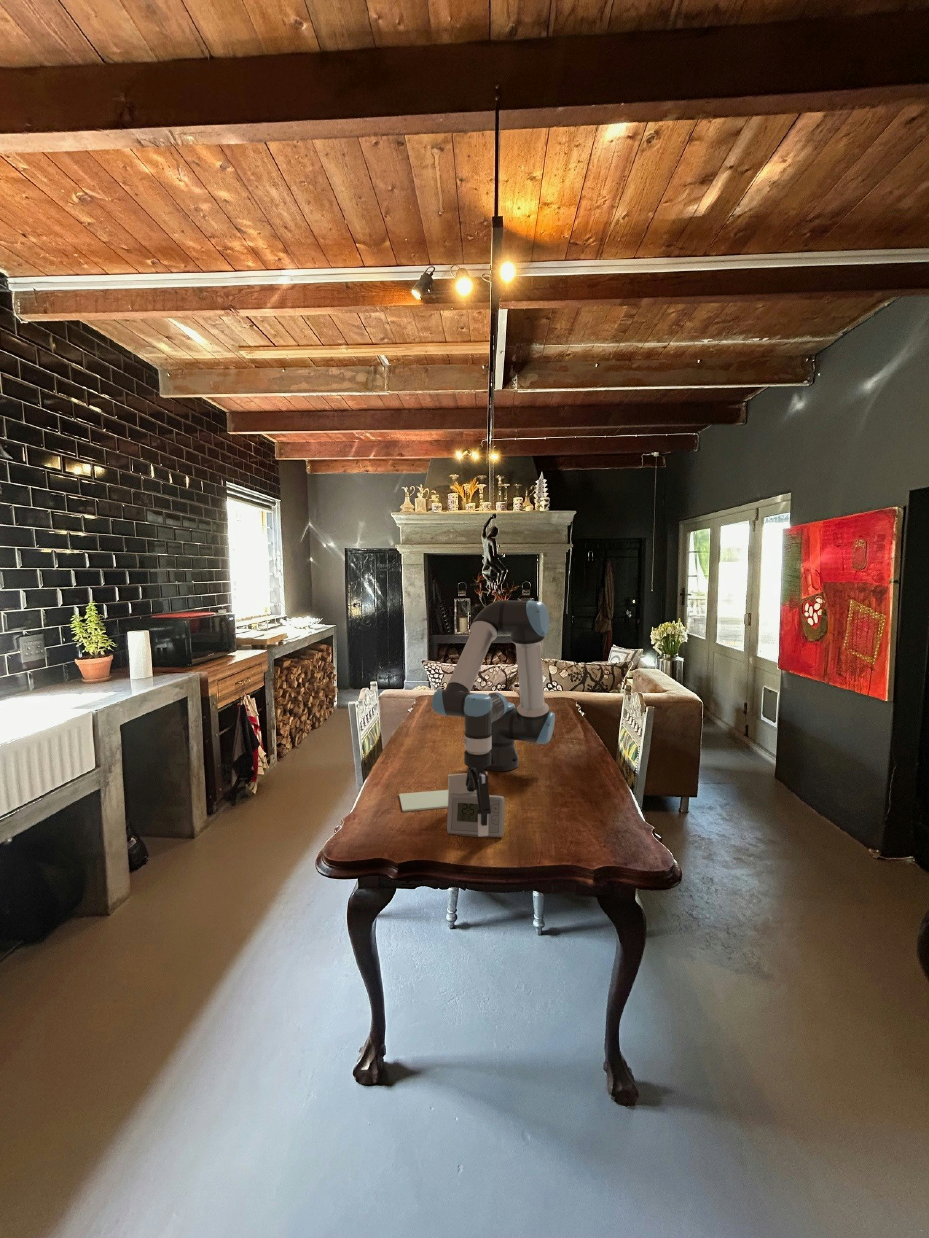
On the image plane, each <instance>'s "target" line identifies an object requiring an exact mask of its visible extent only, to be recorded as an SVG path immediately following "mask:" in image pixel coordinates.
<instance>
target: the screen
mask: <svg viewBox="0 0 929 1238" xmlns="http://www.w3.org/2000/svg"><path fill="white" fill-rule="evenodd" d="M485 772H486V775H488V771H485ZM466 777H467V772H465V773H464V772H463V773H451V774H447V790H448V798H449V794H451V793H461V794H463V793H467V792H469V791H467V786H466ZM474 791H476V790H474Z"/></svg>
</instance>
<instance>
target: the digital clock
mask: <svg viewBox="0 0 929 1238" xmlns="http://www.w3.org/2000/svg"><path fill="white" fill-rule="evenodd" d="M489 799H490V809H491V814H488V836H480V837H478V814H477V811H479V807H478V800H477V794H472V793H463V794H461V793H451V794H449V798H448V808H447V816H446V817H447V818H446V833H448V834H449V835H457V836H458V835H459V836H461V837H462V836H463V837H473V838H474V837H476V838H503V837H504V834H505V806H506V805H505V803H506V802H505V800H506V799H505V796H503V795H493V794H489Z"/></svg>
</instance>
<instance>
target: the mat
mask: <svg viewBox="0 0 929 1238" xmlns="http://www.w3.org/2000/svg"><path fill="white" fill-rule="evenodd" d="M398 796H399V802H400V806H401V810H402V811H401V812H416V811H427V810H438V809H448V789H443V790H442V789H441V790H430V791H429V790H428V791H419V792H418V791H417V792H416V791H415V792H405V793H399V794H398Z"/></svg>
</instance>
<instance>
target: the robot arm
mask: <svg viewBox="0 0 929 1238" xmlns="http://www.w3.org/2000/svg"><path fill="white" fill-rule="evenodd" d="M469 629H470V634H469V636H468V639H467V640H466V643H465V645H464V647H463V650H462V652H461V654H460V656H459V659H458V661H457V663H456V665H455V667H454V670H453V671H452V674H451V676H450V678H449V680H448V683H447V685H446V687H445V689H443V688H442V689H437V690H436V691H434V693H433V695H432V698H431V699H432V700H431V707H432V709H433V712H434V713H435V714H437V715H442V716H447V717H448V716H449V717H456V718H457V717H458V718H464V735H463V736H464V739H462V743H463V744H464V753H463V754H464V755H463V756H464V757H463V763H464V765H465V766H467V771H466V773H467V777H466V786H467V791H469V792H467V793H472V794H477V800H478V807H479V811H477V814H478V837H477V838H481V837H480V836H488V814H491V809H490V799H489V795H490V790H489V775H488V774H487V775H486V772H487V771H485V770H488V771H492V772H493V771H494V772H507V771H512V770H514V769H517V768H518V767H519V763H520V761H519V756H518V753H517V750H516V749H517V748H516V746H515V741H517V742H518V741H519V742H526V743H533V744H536V745H537V744H543V745H545V744H548V743H549V742H550V740H551V739H552V736H553V733H554V729H555V723H556V714H555V713H554V712H553V711H550V707H549V705H548V704H547V703H546V702H545V694H544V693H545V691H544V679H543V678H544V677H543V676H544V675H543V663H542V647H541V646H542V645H541V643H542V642H543V641H544V640H545V636H547V635H548V634H549V632H550V615H549V611H548V608H547V605H546V604H544V603H543V602H542V601H539V600H538V601H537V600H536V601H535V600H511V599H510V600H507V599H501V600H500V599H499V600H496V601H492V602H491V603H489V604H488V605H486V606H485V607H484V608H483V609H481V610H480V612H479V613H478V614H477V615H476V616H475V618H474V619H472V623H471V625H470V628H469ZM500 634H503V635H504V634H506V635H510V641H511V642H512V643H513V644H514V645H515V651H516V664H517V674H518V687H519V688H518V689H519V702H520V703H519V704H518V705H517V707H516V706H515V704H514V703H513V702H509V701H508V699H507V698H506V697H505V695H503V694H502V693H500V692H490V693H488V694H487V693H476V692H471V691H472V689H473V688H474V687H473V686H474V684H475V681H476V679H477V677H478V675H479V672H480V670H481V667H482V666H483V662H484V660H485V658H486V655H487V654H488V651H489V650H490V649H489V648H490V647H491V644H492V642H493V641H495V640H496V639H497V637H498V636H499V635H500ZM474 790H476V791H474Z"/></svg>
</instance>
